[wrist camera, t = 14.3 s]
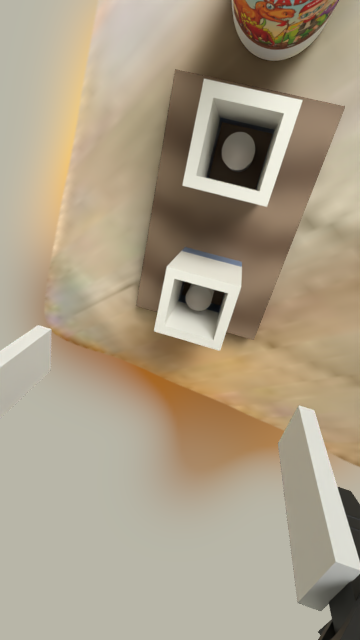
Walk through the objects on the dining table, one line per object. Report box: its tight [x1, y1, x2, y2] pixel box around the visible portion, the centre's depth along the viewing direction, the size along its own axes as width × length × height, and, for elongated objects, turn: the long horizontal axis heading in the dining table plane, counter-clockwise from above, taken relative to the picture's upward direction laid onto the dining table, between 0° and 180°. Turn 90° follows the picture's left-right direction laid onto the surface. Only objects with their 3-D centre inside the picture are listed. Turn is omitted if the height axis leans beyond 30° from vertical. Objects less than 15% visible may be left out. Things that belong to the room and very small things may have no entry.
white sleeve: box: [154, 247, 242, 351], centre depth 28 cm, size 6×6×8 cm
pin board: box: [136, 69, 345, 340], centre depth 27 cm, size 22×14×7 cm, turn 167°
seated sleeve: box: [182, 79, 303, 207], centre depth 22 cm, size 6×6×8 cm
